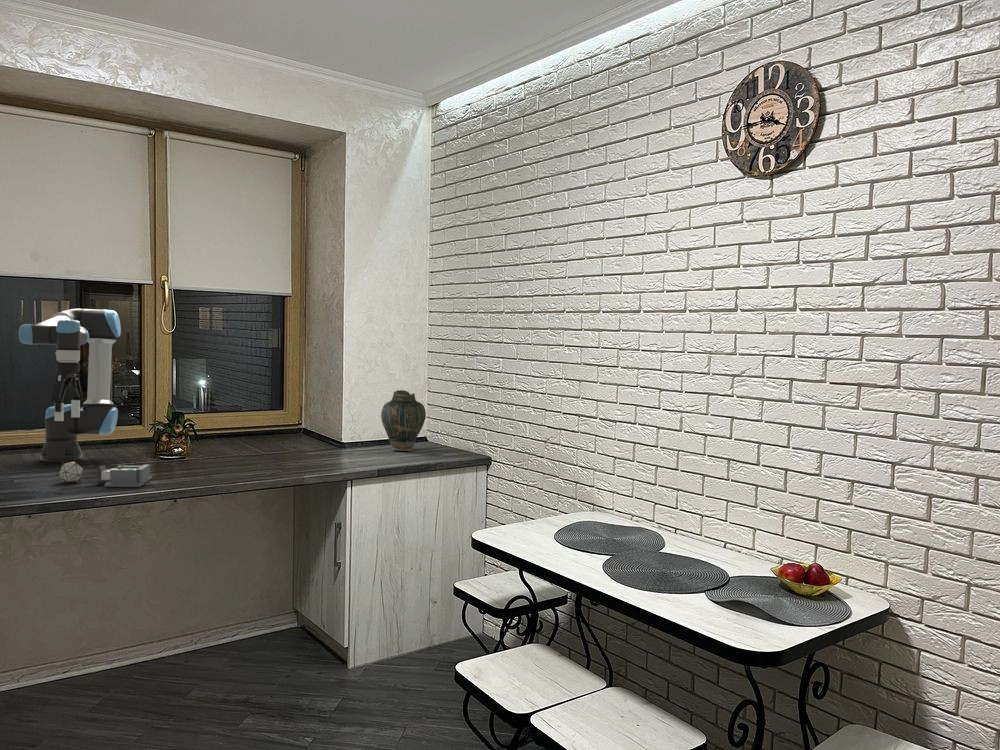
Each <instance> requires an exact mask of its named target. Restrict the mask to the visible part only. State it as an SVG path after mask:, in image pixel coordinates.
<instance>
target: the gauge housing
mask: <svg viewBox="0 0 1000 750" xmlns="http://www.w3.org/2000/svg"><path fill="white" fill-rule="evenodd" d="M120 466H121V465H117V466H116V468H109V469H110V480H109V481H107V482H105V483H104V487H105V488H107V487H108V488H109V487H113V488H116V487H117V488H119V487H120V488H121V487H122V488H133V487H134V488H138V487H139V488H140V487H141V485H142V486H143V485H145V484H146V483H148V482H149V481H150V479H151V480H152V478H153V477H152V475H150V474H151V464H143V465H123V466H124V469H121V468H120V469H118V467H120ZM147 481H148V482H147ZM145 482H146V483H145ZM144 483H145V484H144Z"/></svg>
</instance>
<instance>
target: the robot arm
mask: <svg viewBox="0 0 1000 750" xmlns="http://www.w3.org/2000/svg"><path fill="white" fill-rule="evenodd" d="M121 333H122V327H121V321H120V316H119V314H118V313H117V312H116V310H112V309H105V308H103V309H102V308H101V309H100V308H99V309H97V308H71V309H66V310H62V311H59V312H56V313H54V314H53V315H51V316H50V318H48V319H46V320H43V321H42V322H38V323H36V324H33V323H32V324H31V323H29V324H28V323H24V324H21V325H20V326H19V329H18V339H19V342H20V343H21V344H22V345H31V346H32V345H37V346H38V345H44V346H45V345H46V346H47V345H51V346H55V347H56V352H55V353H54V354H55V355H56V357H55V358H56V359H55V360H56V361H57V362H56V363H55V372H57V373H60V375H59V374H58V375H57V374H56V376H55V383H54V387H53V391H52V396H51V399H50V401H51V403H52V404H54V406H49V407H48V408H46V410H45V417H44V420H45V421H44V423H45V437H44V438H45V440H44V441H45V442H44V444H43V448H42V450H41V453H40V462H44V463H62V462H64V463H69V462H74V460H76V461H80V460H81V459H83V452H82V450H81V447H80V444H79V441H78V436H79V435H80V436H81V435H82V436H83V435H84V436H89V435H91V436H92V435H94V436H95V435H96V436H97V435H99V436H102V435H103V436H104V435H111V434H112V433H114V431H115V429H116V426H117V424H118V423H117V422H118V418H119V417H118V416H119V410H118V408H117V407H114V405H115V404H114V402H113V401H112V400H111V380H112V355H113V354H112V352H113V351H112V350H113V349H112V348H113V344H115V343H116V342H117V338H118V337H121ZM86 343H88V346H89V347H88V367H87V368H88V372H87V373H88V375H87V394H86V396H87V397H86V400H85V401H84V402H83V403H82V407H81V401H83V399H84V395H83V391H82V390H83V389H82V387H81V386H82V385H81V381H80V374H79V373H80V372H81V370H80V369H81V368H80V367H81V365H80V364H81V363H80V361H81V346H83V345H85V344H86ZM67 390H69V393H70V396H71V398H72V399H71V403H68V404H65V403H64V402H63V401H64V398H65V395H66V393H67Z"/></svg>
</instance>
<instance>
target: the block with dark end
mask: <svg viewBox="0 0 1000 750" xmlns="http://www.w3.org/2000/svg"><path fill="white" fill-rule="evenodd" d="M119 466H120V467H118V469H120V468H121V469H124V466H125V465H119ZM110 469H111V468H109V469H107V468H106V465H100V466H98V467H97V469H96V470H97V471H96V473H97V474H96V477H97V478H96V480H97V481H102V480H104V481H105V480H109V481H110Z"/></svg>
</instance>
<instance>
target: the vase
mask: <svg viewBox="0 0 1000 750" xmlns="http://www.w3.org/2000/svg"><path fill="white" fill-rule="evenodd" d="M391 398H392V399H390V401H388V402H386V403H384V405H383V407H382V408H381V409H382V410H381V413H380V414H381V415H380V419H381V423H382V426H383V429H384V431H385V433H386V435H387V438H388V440H389V443H390V446H391V450H392V451H393V452H395V451H397V452H413V451H414V448H413V447H414V446H415V442H416V440H417V437H418V436H419V434H420V432H421V431H422V430H423V429H422V428H423V427H424V424H425V420H426V417H427V412H426V408H425V405H423V403H422V402H419V401H418V400H417V399H416V394H415V393H410V392H409V391H407V390H403V389H402V390H399V389H397V390H396V391H393V394H392V397H391Z"/></svg>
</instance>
